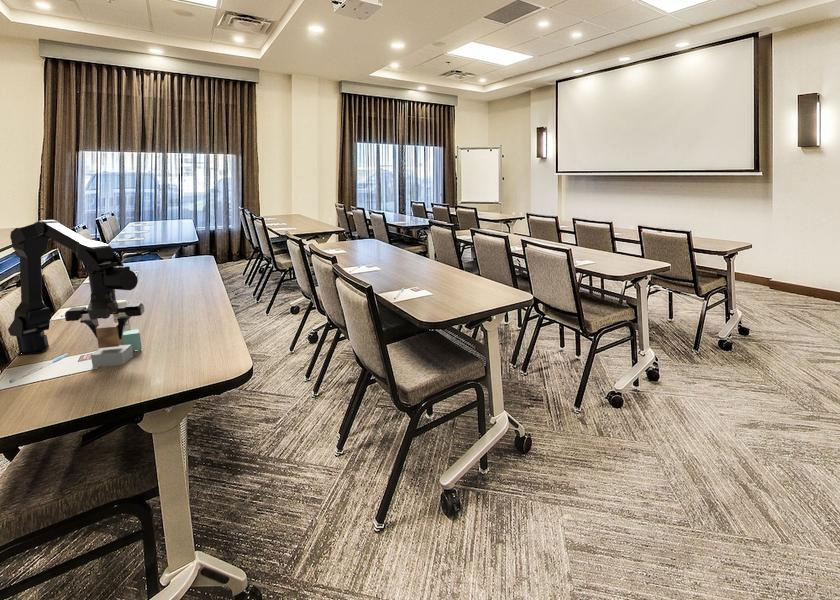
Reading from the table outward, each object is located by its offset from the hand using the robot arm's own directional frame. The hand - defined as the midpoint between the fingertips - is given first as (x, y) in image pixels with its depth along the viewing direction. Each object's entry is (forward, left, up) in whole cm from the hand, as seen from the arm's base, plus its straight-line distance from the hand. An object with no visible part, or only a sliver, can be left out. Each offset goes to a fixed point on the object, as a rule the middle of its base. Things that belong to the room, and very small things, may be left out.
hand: (110, 339), depth 139 cm
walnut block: (0, 0, -2) cm, 2 cm away
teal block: (+3, +10, -7) cm, 12 cm away
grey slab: (0, 0, -7) cm, 7 cm away
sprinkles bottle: (-2, +24, -7) cm, 25 cm away
